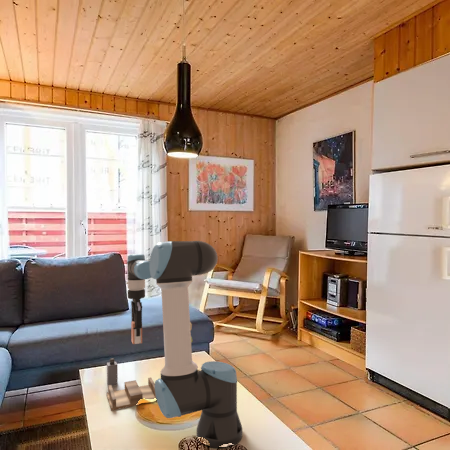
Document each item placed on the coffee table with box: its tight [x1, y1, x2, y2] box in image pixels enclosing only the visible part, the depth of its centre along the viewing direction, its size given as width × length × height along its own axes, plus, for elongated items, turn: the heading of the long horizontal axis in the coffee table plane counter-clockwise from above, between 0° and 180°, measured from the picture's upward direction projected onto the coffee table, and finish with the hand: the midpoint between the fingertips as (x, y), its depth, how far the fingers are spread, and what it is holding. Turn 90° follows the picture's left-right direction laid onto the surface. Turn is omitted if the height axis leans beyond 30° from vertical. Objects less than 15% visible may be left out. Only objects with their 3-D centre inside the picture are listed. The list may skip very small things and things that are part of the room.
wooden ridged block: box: [106, 377, 156, 411], centre depth 149 cm, size 14×19×4 cm
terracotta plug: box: [130, 318, 143, 345], centre depth 163 cm, size 4×4×11 cm
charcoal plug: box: [106, 357, 119, 387], centre depth 162 cm, size 4×4×11 cm
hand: (136, 341), depth 163 cm, fingers closed on terracotta plug, 4 cm apart
